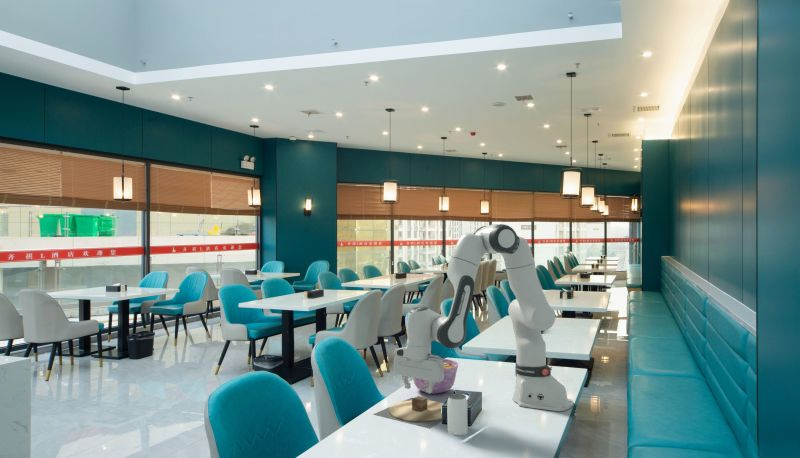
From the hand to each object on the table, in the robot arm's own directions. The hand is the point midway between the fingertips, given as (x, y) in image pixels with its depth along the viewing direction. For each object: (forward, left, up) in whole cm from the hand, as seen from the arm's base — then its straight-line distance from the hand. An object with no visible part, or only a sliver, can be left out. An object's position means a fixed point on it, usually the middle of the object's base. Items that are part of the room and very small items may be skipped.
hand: (418, 390), depth 197 cm
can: (-21, +9, -8) cm, 25 cm away
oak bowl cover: (0, 0, -8) cm, 8 cm away
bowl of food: (+10, -25, -8) cm, 28 cm away
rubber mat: (0, 0, -8) cm, 8 cm away
